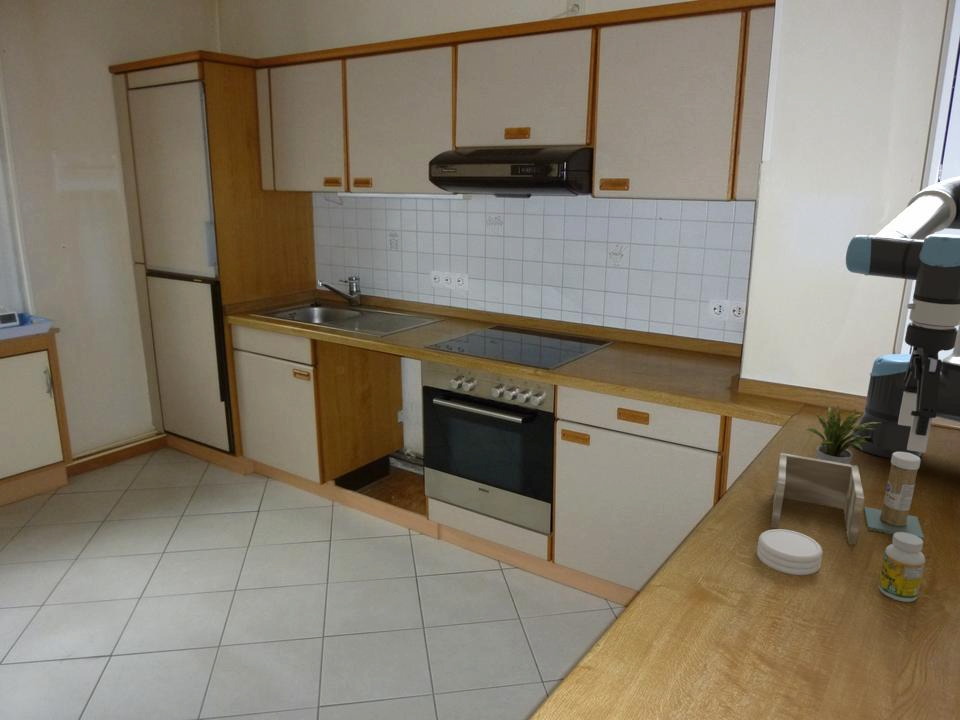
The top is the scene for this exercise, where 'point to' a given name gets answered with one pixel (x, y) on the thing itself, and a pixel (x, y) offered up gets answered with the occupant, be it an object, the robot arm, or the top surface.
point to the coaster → (789, 552)
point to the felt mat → (879, 525)
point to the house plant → (838, 437)
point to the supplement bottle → (902, 567)
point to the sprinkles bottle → (900, 488)
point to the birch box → (820, 488)
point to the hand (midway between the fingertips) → (910, 437)
